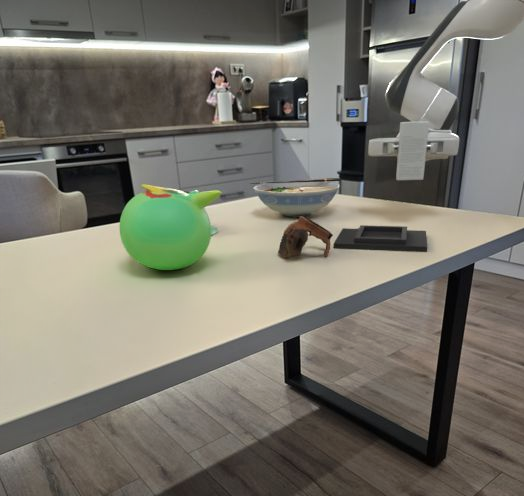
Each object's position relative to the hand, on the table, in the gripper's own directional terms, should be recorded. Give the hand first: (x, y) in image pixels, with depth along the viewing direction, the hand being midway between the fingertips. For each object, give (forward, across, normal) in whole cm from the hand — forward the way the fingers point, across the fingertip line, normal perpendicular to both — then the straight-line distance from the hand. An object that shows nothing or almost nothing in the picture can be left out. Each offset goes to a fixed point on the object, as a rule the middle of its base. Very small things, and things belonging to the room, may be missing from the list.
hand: (412, 149), depth 106 cm
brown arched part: (+31, -18, +17) cm, 40 cm away
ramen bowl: (-10, -28, +17) cm, 35 cm away
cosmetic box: (-1, 0, +7) cm, 7 cm away
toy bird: (+42, -40, +17) cm, 61 cm away
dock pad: (+17, -4, +17) cm, 24 cm away
